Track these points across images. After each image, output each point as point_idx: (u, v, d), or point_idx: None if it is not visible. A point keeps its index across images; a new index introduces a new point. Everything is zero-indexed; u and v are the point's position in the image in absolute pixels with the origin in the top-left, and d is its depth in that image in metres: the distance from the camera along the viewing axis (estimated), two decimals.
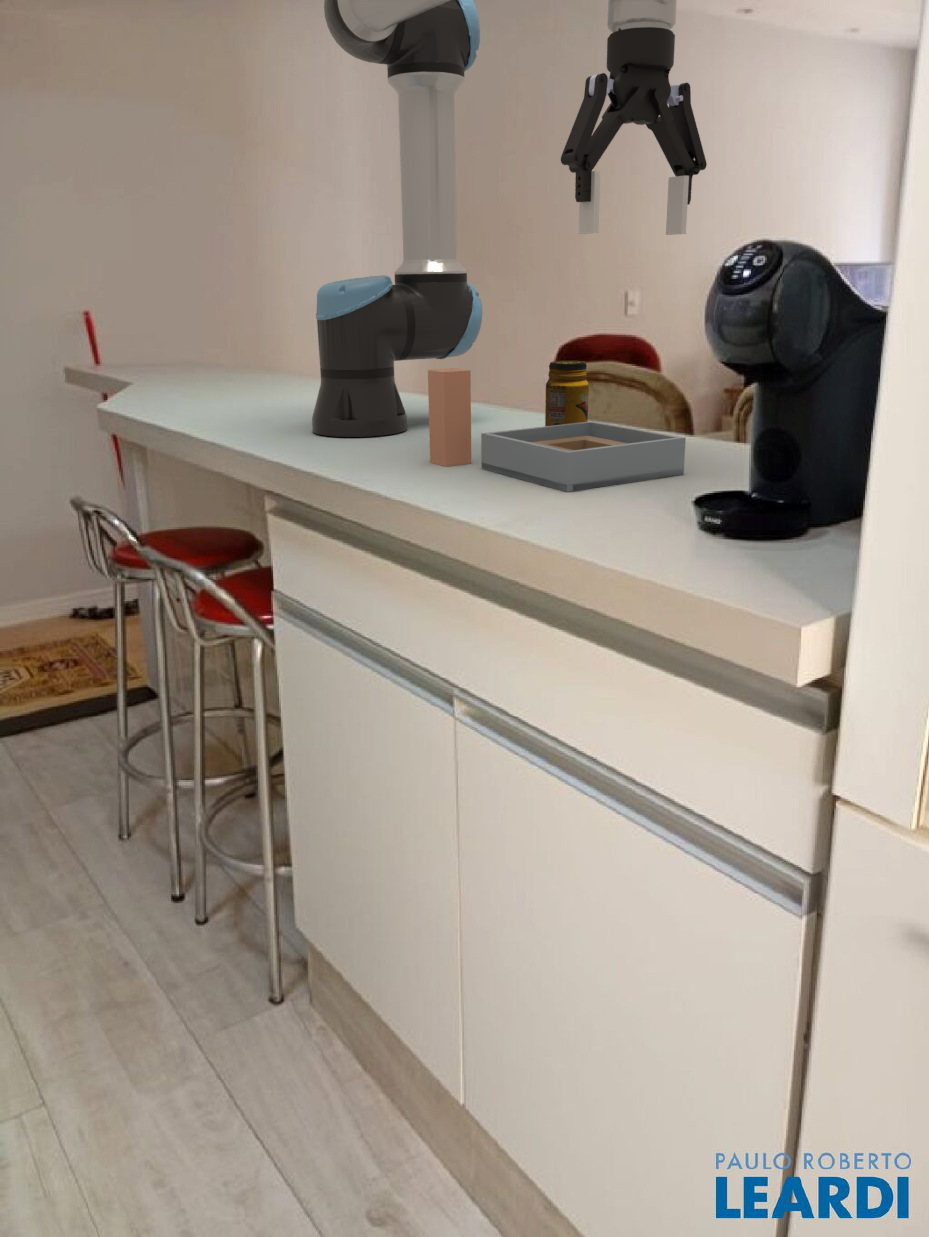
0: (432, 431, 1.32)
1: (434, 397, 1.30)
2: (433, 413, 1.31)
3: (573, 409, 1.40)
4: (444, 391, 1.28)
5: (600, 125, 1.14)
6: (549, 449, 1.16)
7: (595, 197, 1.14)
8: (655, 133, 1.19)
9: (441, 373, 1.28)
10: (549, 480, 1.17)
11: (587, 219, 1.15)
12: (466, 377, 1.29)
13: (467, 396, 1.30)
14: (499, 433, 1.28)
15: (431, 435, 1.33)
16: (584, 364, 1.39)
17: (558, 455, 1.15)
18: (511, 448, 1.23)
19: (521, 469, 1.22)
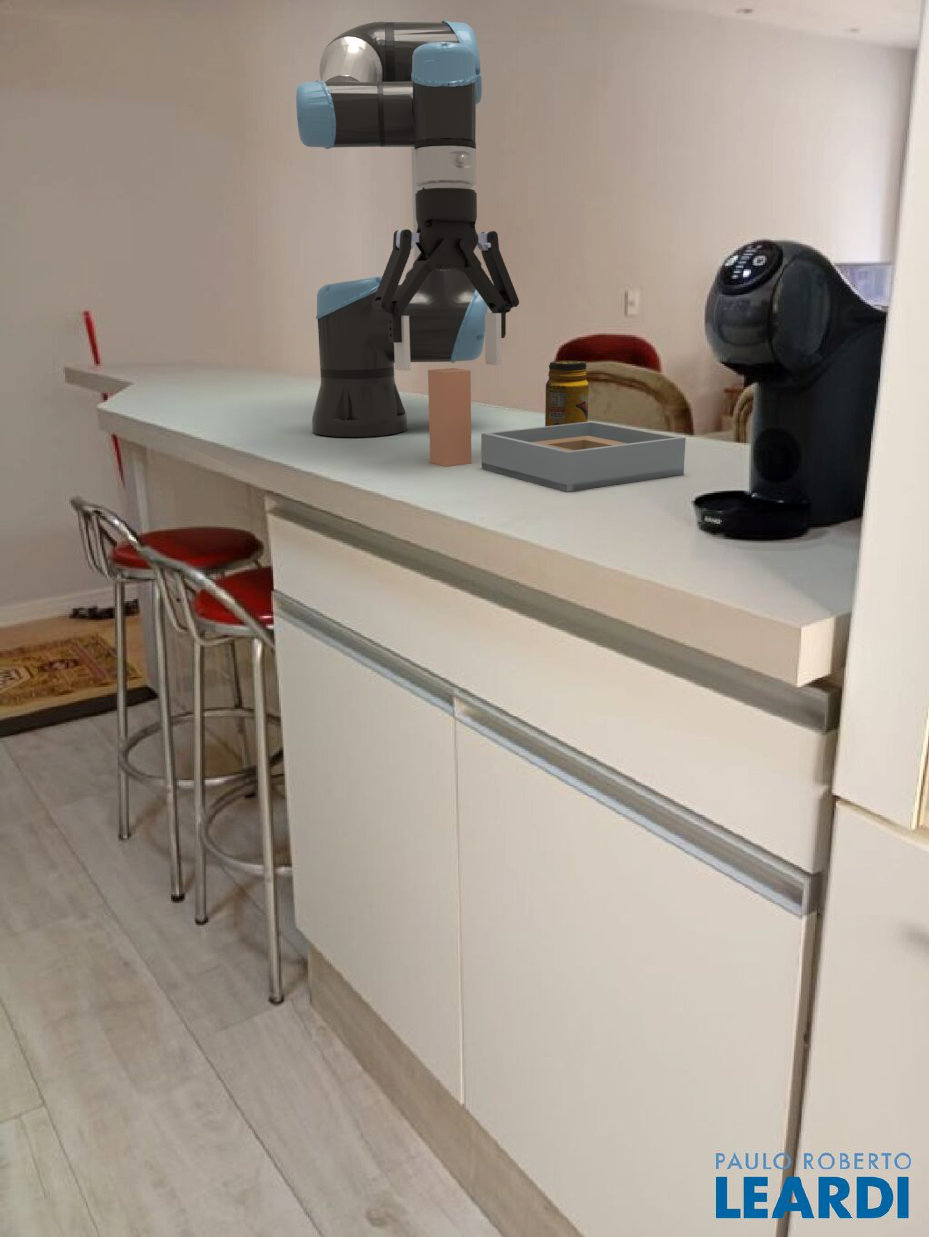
0: (432, 431, 1.32)
1: (434, 397, 1.30)
2: (433, 413, 1.31)
3: (573, 409, 1.40)
4: (444, 391, 1.28)
5: (410, 273, 1.24)
6: (549, 449, 1.16)
7: (405, 339, 1.24)
8: (467, 275, 1.28)
9: (441, 373, 1.28)
10: (549, 480, 1.17)
11: (400, 357, 1.25)
12: (466, 377, 1.29)
13: (467, 396, 1.30)
14: (499, 433, 1.28)
15: (432, 435, 1.33)
16: (584, 364, 1.39)
17: (558, 455, 1.15)
18: (511, 448, 1.23)
19: (521, 469, 1.22)
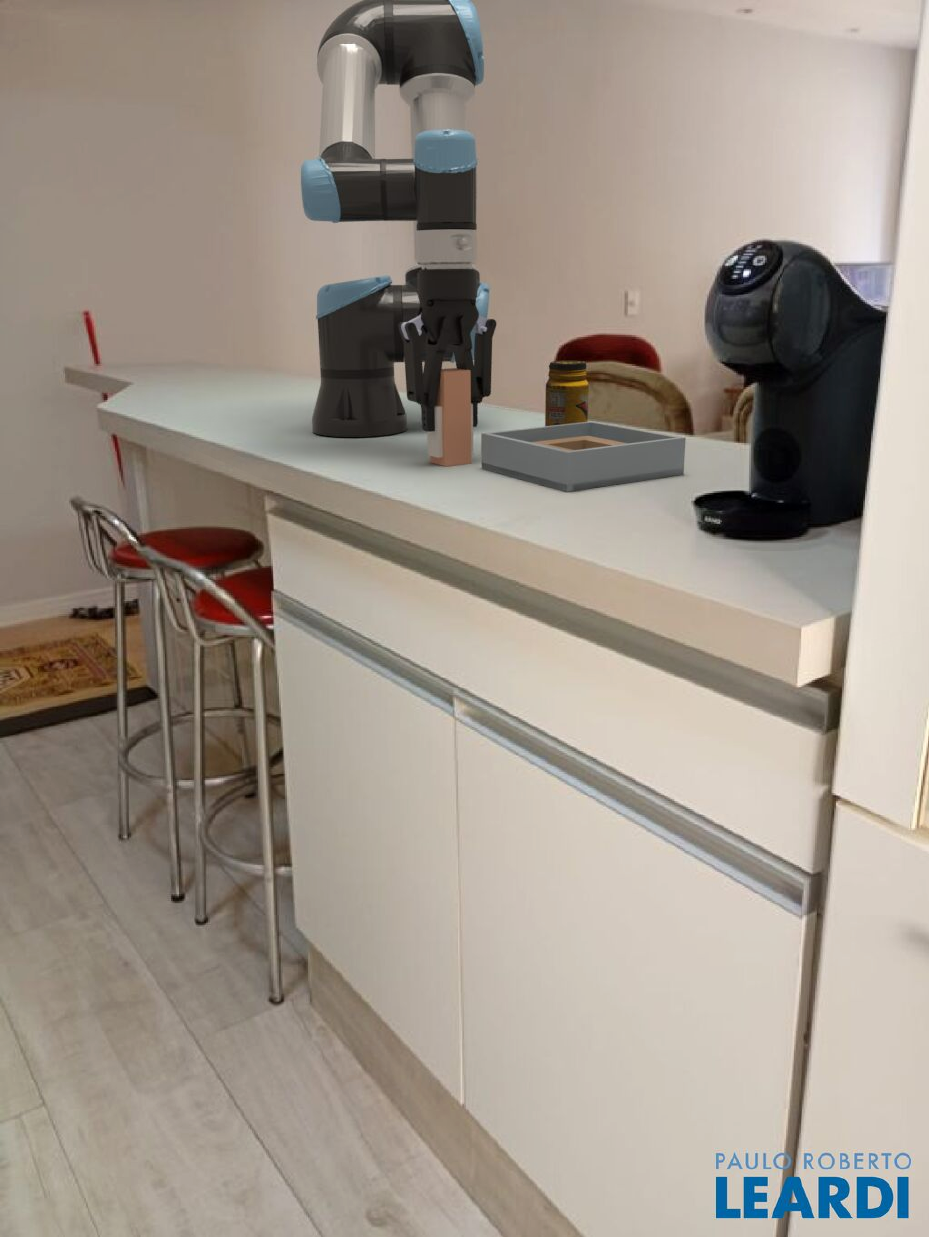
0: None
1: None
2: None
3: (573, 409, 1.40)
4: (444, 391, 1.28)
5: (426, 359, 1.29)
6: (549, 449, 1.16)
7: (438, 428, 1.30)
8: (455, 355, 1.31)
9: (441, 373, 1.28)
10: (549, 480, 1.17)
11: (433, 445, 1.31)
12: (466, 377, 1.29)
13: (467, 396, 1.30)
14: (499, 433, 1.28)
15: None
16: (584, 364, 1.39)
17: (558, 455, 1.15)
18: (511, 448, 1.23)
19: (521, 469, 1.22)
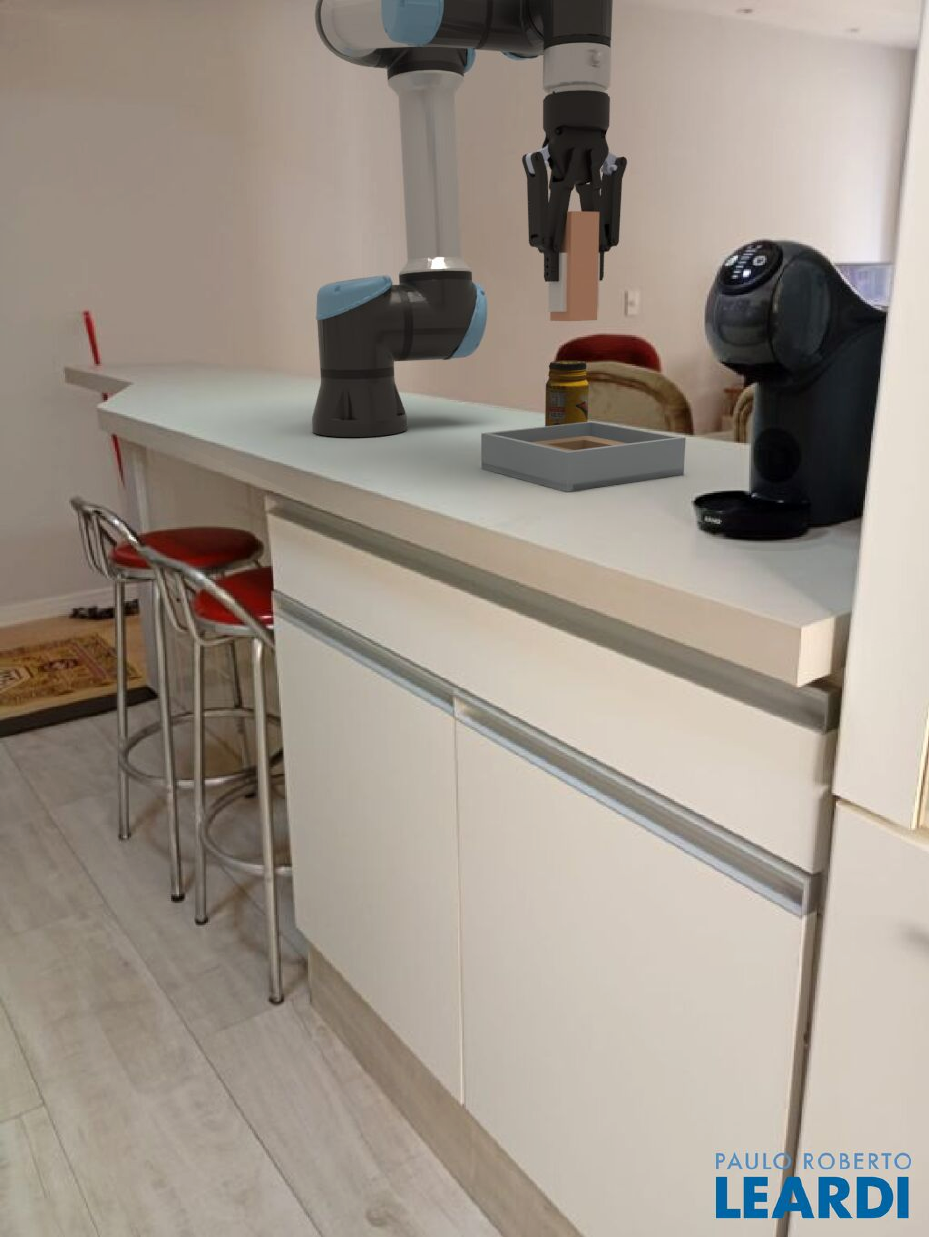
0: None
1: None
2: None
3: (573, 409, 1.40)
4: (571, 233, 1.15)
5: (551, 199, 1.16)
6: (549, 449, 1.16)
7: (563, 277, 1.17)
8: (580, 198, 1.18)
9: (568, 213, 1.15)
10: (549, 480, 1.17)
11: (556, 298, 1.18)
12: (595, 219, 1.16)
13: (595, 242, 1.17)
14: (499, 433, 1.28)
15: None
16: (584, 364, 1.39)
17: (558, 455, 1.15)
18: (511, 448, 1.23)
19: (521, 469, 1.22)
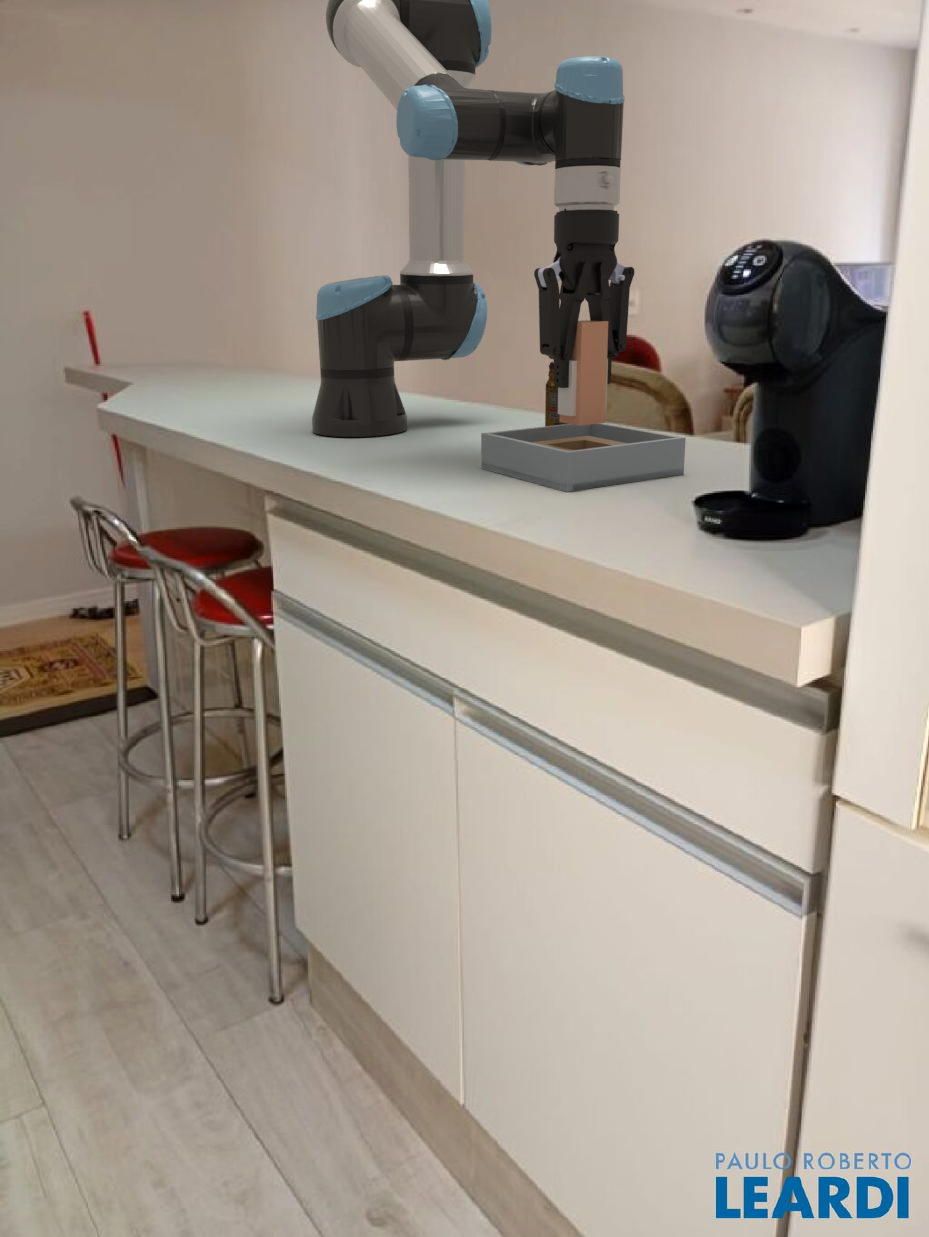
0: None
1: None
2: None
3: None
4: (581, 343, 1.19)
5: (561, 309, 1.19)
6: (549, 449, 1.16)
7: (572, 384, 1.21)
8: (589, 306, 1.22)
9: (578, 324, 1.19)
10: (549, 480, 1.17)
11: (565, 403, 1.22)
12: (604, 329, 1.20)
13: (604, 349, 1.21)
14: (499, 433, 1.28)
15: None
16: None
17: (558, 455, 1.15)
18: (511, 448, 1.23)
19: (521, 469, 1.22)
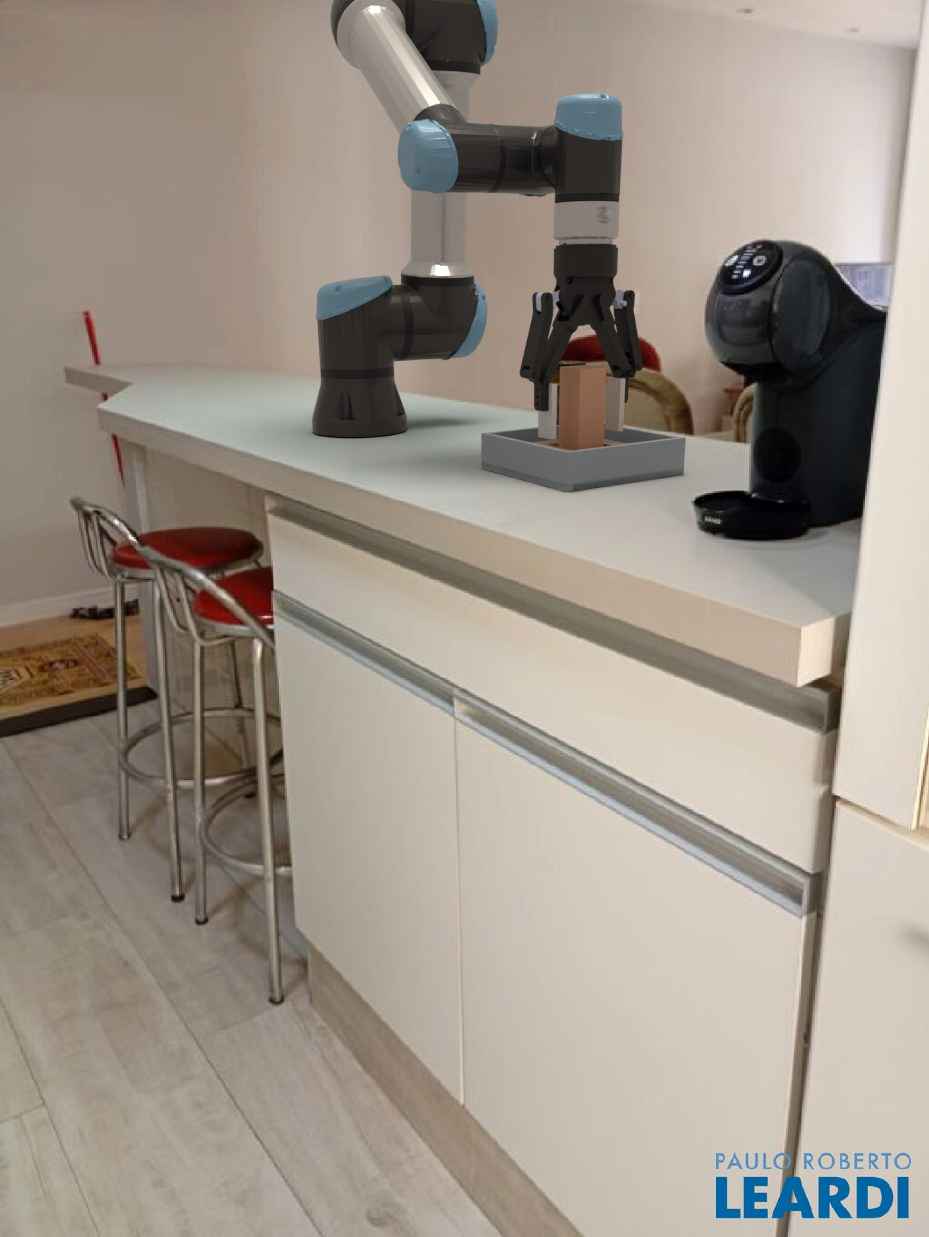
0: (562, 432, 1.25)
1: (566, 395, 1.23)
2: (565, 412, 1.24)
3: None
4: (580, 389, 1.21)
5: (552, 335, 1.20)
6: (549, 449, 1.16)
7: (552, 407, 1.20)
8: (597, 334, 1.23)
9: (577, 370, 1.20)
10: (549, 480, 1.17)
11: (545, 426, 1.22)
12: (602, 374, 1.22)
13: (602, 395, 1.23)
14: (499, 433, 1.28)
15: (561, 436, 1.25)
16: (584, 364, 1.39)
17: (558, 455, 1.15)
18: (511, 448, 1.23)
19: (521, 469, 1.22)
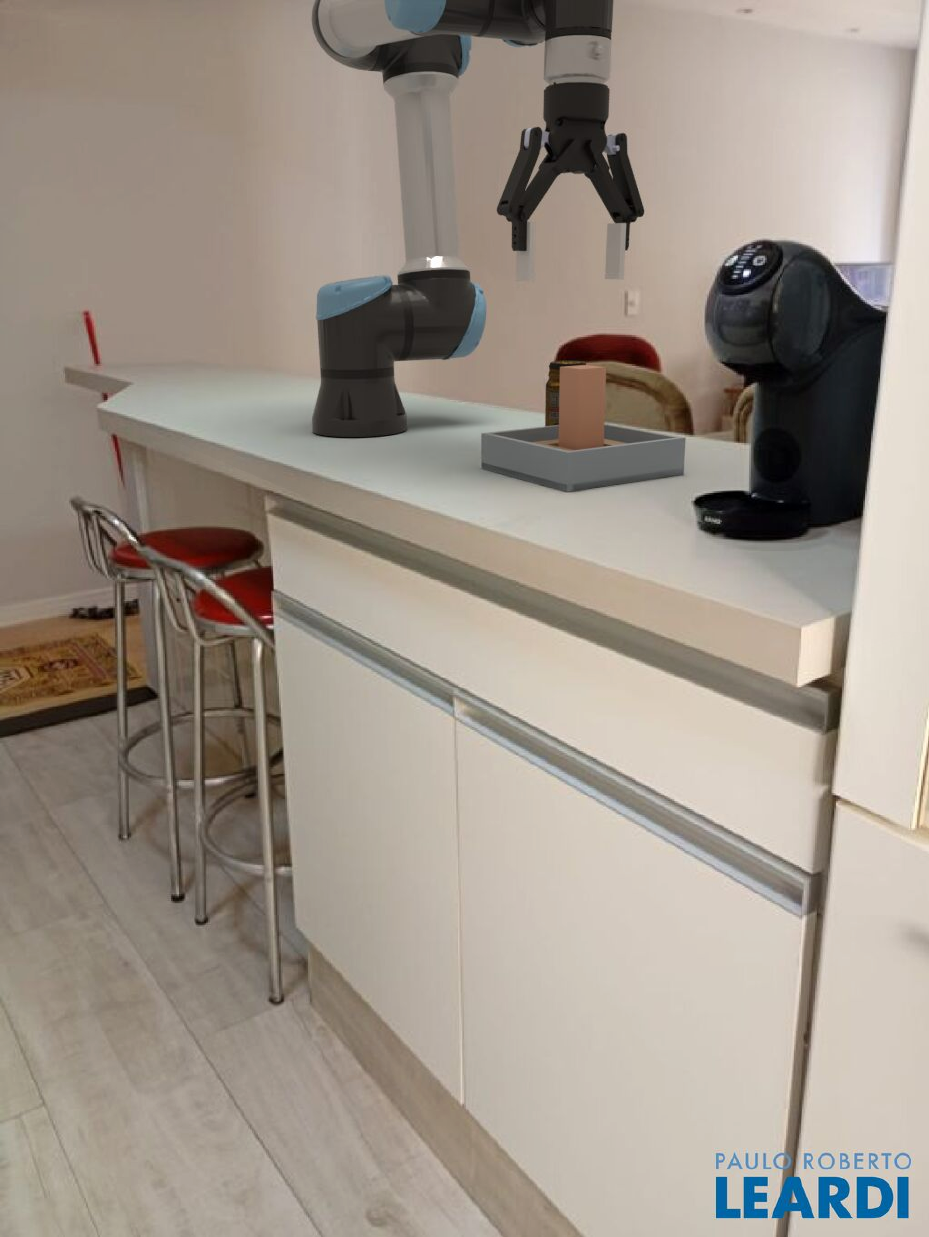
0: (562, 432, 1.25)
1: (566, 395, 1.23)
2: (564, 412, 1.24)
3: None
4: (580, 389, 1.21)
5: (536, 176, 1.16)
6: (549, 449, 1.16)
7: (530, 247, 1.16)
8: (592, 182, 1.21)
9: (577, 370, 1.20)
10: (549, 480, 1.17)
11: (523, 267, 1.18)
12: (602, 374, 1.22)
13: (602, 395, 1.23)
14: (499, 433, 1.28)
15: (561, 436, 1.25)
16: (584, 364, 1.39)
17: (558, 455, 1.15)
18: (511, 448, 1.23)
19: (521, 469, 1.22)
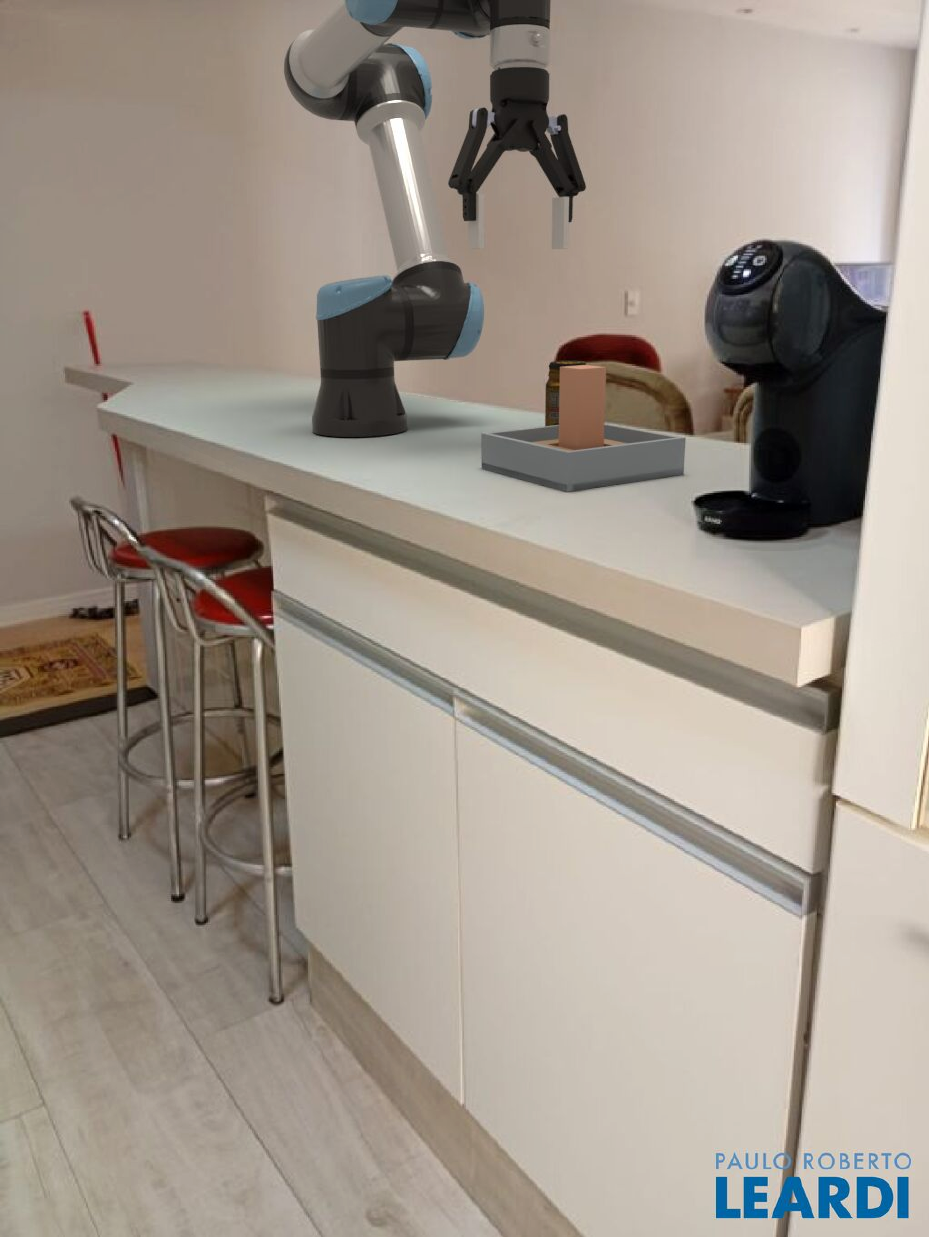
0: (562, 432, 1.25)
1: (566, 395, 1.23)
2: (564, 412, 1.24)
3: None
4: (580, 389, 1.21)
5: (484, 153, 1.28)
6: (549, 449, 1.16)
7: (480, 217, 1.28)
8: (537, 159, 1.33)
9: (577, 370, 1.20)
10: (549, 480, 1.17)
11: (474, 236, 1.30)
12: (602, 374, 1.22)
13: (602, 395, 1.23)
14: (499, 433, 1.28)
15: (561, 436, 1.25)
16: (584, 364, 1.39)
17: (558, 455, 1.15)
18: (511, 448, 1.23)
19: (521, 469, 1.22)
